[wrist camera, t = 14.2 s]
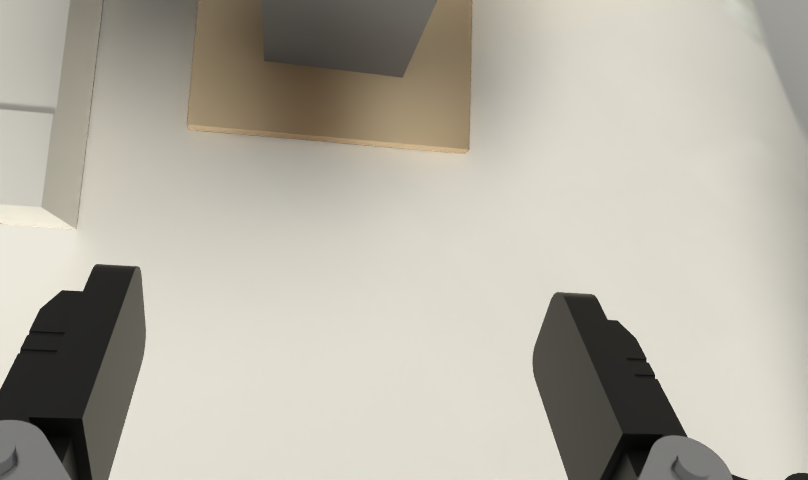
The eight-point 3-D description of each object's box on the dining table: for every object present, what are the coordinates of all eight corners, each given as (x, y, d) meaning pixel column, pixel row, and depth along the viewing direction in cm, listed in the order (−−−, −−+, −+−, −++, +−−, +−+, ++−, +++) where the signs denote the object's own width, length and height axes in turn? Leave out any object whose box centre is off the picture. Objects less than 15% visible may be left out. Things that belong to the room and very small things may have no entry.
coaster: (470, -88, 25) (474, -97, 25) (465, 153, 24) (469, 149, 23) (212, -126, 24) (210, -137, 23) (188, 129, 22) (186, 124, 22)
